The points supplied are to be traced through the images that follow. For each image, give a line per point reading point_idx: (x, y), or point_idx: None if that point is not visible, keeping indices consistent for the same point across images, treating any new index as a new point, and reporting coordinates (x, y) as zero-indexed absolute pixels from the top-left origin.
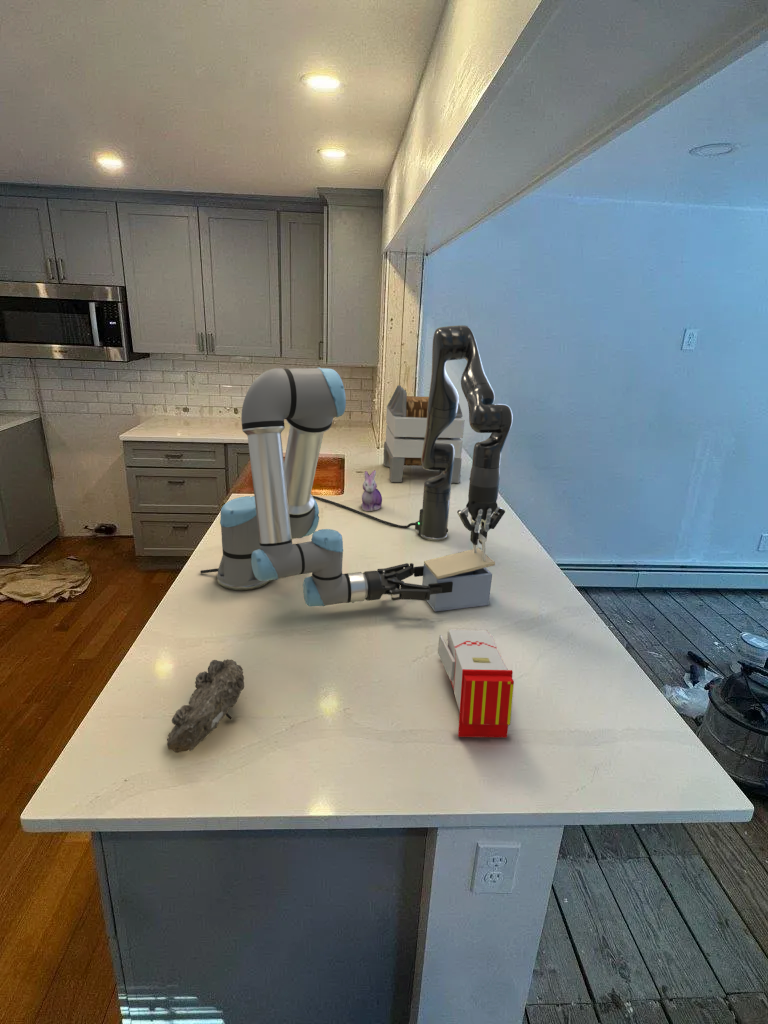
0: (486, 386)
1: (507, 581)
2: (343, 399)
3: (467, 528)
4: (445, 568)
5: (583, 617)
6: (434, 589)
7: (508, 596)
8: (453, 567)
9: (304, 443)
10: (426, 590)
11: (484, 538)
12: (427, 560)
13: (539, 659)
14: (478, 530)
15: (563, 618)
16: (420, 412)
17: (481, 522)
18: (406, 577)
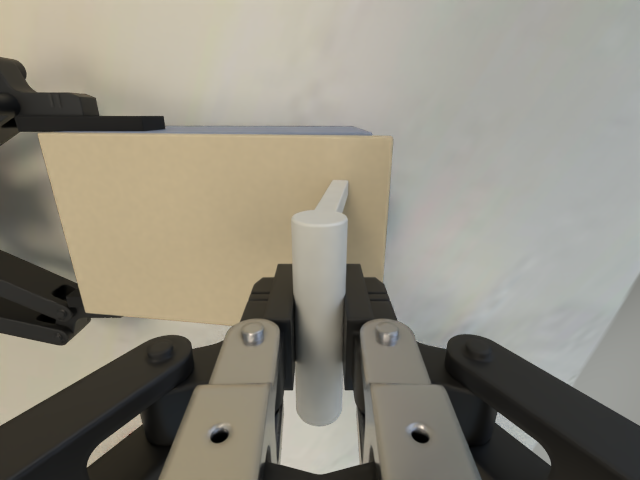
0: None
1: (520, 97)
2: None
3: (141, 431)
4: (132, 267)
5: (569, 358)
6: (95, 316)
7: (446, 208)
8: (170, 279)
9: None
10: (51, 336)
11: (319, 423)
12: (56, 137)
13: (339, 463)
14: (282, 415)
15: (513, 351)
16: None
17: (364, 390)
18: (9, 137)
